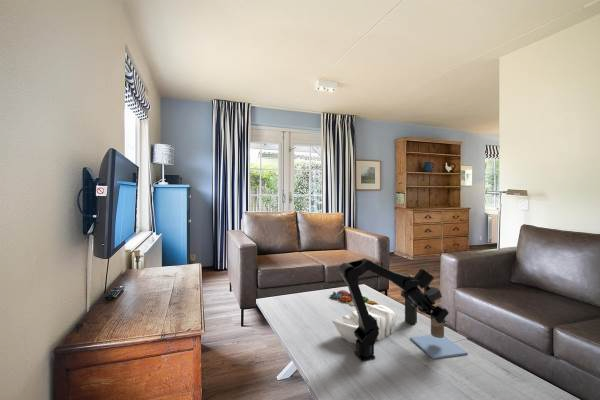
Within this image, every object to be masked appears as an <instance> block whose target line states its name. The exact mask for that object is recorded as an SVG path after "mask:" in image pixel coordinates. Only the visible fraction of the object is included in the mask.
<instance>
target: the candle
mask: <svg viewBox="0 0 600 400" xmlns="http://www.w3.org/2000/svg"><path fill="white" fill-rule="evenodd" d="M409 276H411V277H413V276H412V273H411V274H409ZM404 323H405V324H409V325H412V326H414V325H415V326H416V323H418V308H417V309H416V308H415V307H413V306H412V305H411V299H410V298H409V297H407V298H406V299H405V298H404Z"/></svg>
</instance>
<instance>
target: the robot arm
mask: <svg viewBox="0 0 600 400" xmlns="http://www.w3.org/2000/svg"><path fill="white" fill-rule="evenodd" d="M368 271H370V272H372V273H375V274H377V275H378V276H380V277H382V278H384V279H387V280H388V281H389V282H391V283H392V284H394V285H395V286H397V287H398V288H400V289H401V290H400V291H401V292H400V296H401V298H404V300H405V299H406V298H407V297H409V298H410V299H411V305H412V306H413V307H415V308H416V309H417V311H420V312H421V313H423V314H425V315H428V316H430V320H431V319H433V320H434V321H436V322H437V323H444V324H446V317H448V315H449V314H450V313H449V311H448V309H446V308H445V307H443V306H441V305H437V306H435V304H436V301H438V300H439V299H441V298H443V295H442V293H441V290H440V289H439V288H437V287H435V286H430V285H431V284H432V282H433V281H434V280H435V277H434V276H433V275H432V274H430V273H429V272H427V271H426V270H425V269H423V268H420V269H419V270H418V271H417V273H416V274H415V275H414V276H412V277H411V276H410V275H406V274H405V273H401V272H399V271H394V270H393V271H392V270H389V269H387V268H385V267H384V266H381V265H379V264H377V263H375V262H373V261H372V260H370V259H368V258H366V257H365V258H361V259H358V260H354V261H350V262H344V263H342V264H341V265H340V266H339V267H338V273H339V275H340V276H341V278H342V280H343V282H345V285H346V286H347V288H348V291H349V293H350V294H351V296H352V299H353V302H354V305H355V306H354V308H355V311H357V313H358V316H359V319H358V323H359V327H358V328H357V329H356V330H355V331H354V334H355V336H356V337H357V338H358V339H357V340H356V344H355V350H354V351H353V352H354V355H355V356H356V357H357V358H358V359H359V360H360V361H361V362H363V361H368V360H374V359H376V356H375V344H376V342H377V340H376V338H377V337H378V335H379V328H378V325H377V321H376V320H375V319H374V318H373V317H372V316H371V315H370V314H369V313H368V310H367V308H366V305H365V302H364V299H363V294H362V292H361V288H360V286H359V283H360V281H359V280H360V279H359V278H360V276H363V275H364V274H365V273H366V272H368ZM422 290H423V291H422ZM431 311H432V313H431Z"/></svg>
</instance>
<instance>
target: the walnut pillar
mask: <svg viewBox="0 0 600 400" xmlns="http://www.w3.org/2000/svg"><path fill="white" fill-rule="evenodd" d="M431 313H432V311H431ZM430 335H432V336H434V337H436V338H443V337H444V336H445V323H437V322H436V321H434V320H433V319H431V318H430Z"/></svg>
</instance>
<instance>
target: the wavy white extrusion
mask: <svg viewBox="0 0 600 400" xmlns="http://www.w3.org/2000/svg"><path fill="white" fill-rule="evenodd" d="M365 305H366V308H367V310H368V313H369V314H370V315H371V316H372V317H373V318H374V319H375V320H376V321H377V325H378V328H379V335H378V337H377V338H376V341H378V342H380V341H381V340H383V339H385V338H386V337H388V336H390V335H392V334H393V333H395V328H396V321H397V314H396V313H395V312H396V311H394V310H392V309H391V308H389V307H387V306H385V305H383V304H382V305H381V304H379V305H370V304H367V303H365ZM341 318H342V320H343V321H341V320H340V319H337V318H335V319H333V320H331V323H332V324H333V325H334V327H335V328H336V331H337V332H338V333H339V335H340V337H341V338H342V339H343V340H345V341H347V342H348V343H352V344H354V345H356V340H357V339H358V338H357V337H356V336H355V334H354V331H355V330H356V329H357V328H358V327H359V323H358V319H359V316H358V313H357V310H352V311H351V316H350V315H349V314H348V315H347V314H345V315H342V317H341Z"/></svg>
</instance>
